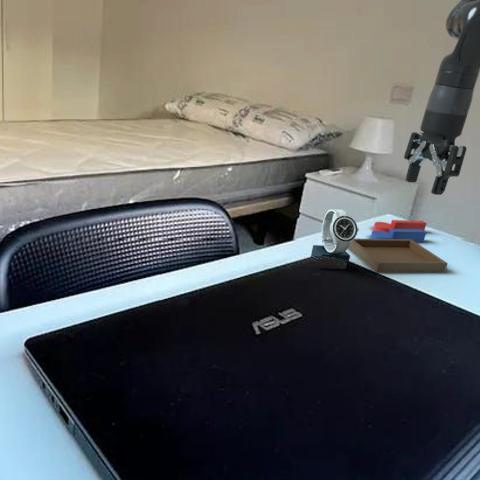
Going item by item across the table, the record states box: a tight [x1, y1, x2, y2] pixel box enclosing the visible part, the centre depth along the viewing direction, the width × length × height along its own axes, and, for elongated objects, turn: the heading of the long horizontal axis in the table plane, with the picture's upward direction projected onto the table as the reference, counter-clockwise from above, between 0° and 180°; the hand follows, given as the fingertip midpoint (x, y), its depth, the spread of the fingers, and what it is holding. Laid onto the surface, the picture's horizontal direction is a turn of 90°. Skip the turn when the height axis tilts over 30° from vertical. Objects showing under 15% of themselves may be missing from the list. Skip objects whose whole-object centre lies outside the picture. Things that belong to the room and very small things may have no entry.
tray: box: [347, 238, 448, 273], centre depth 100 cm, size 15×12×2 cm
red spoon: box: [372, 219, 428, 233], centre depth 116 cm, size 12×4×3 cm, turn 99°
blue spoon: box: [369, 229, 427, 243], centre depth 110 cm, size 12×4×3 cm, turn 99°
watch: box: [310, 208, 360, 262], centre depth 94 cm, size 6×8×11 cm
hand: (423, 187), depth 106 cm, fingers open, 8 cm apart
